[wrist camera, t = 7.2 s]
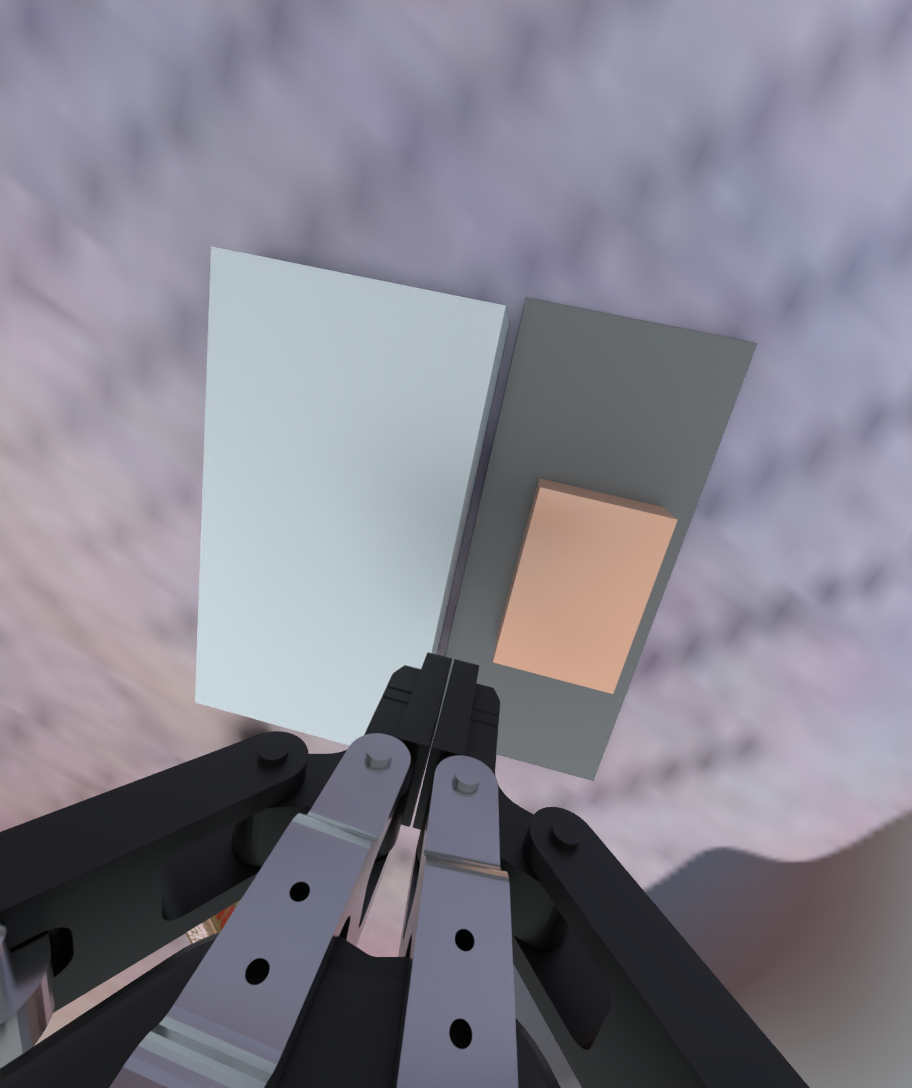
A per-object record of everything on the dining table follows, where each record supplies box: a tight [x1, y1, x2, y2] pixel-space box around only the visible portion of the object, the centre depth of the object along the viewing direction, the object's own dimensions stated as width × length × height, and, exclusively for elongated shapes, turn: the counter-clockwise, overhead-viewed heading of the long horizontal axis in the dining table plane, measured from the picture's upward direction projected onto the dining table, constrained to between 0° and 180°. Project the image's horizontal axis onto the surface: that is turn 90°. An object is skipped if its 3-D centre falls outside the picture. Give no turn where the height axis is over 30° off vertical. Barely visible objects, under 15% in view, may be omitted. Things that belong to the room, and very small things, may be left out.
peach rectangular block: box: [493, 478, 678, 694], centre depth 23 cm, size 9×6×2 cm, turn 168°
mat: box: [434, 297, 757, 781], centre depth 25 cm, size 24×10×1 cm, turn 169°
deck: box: [195, 246, 510, 746], centre depth 24 cm, size 22×12×4 cm, turn 169°
